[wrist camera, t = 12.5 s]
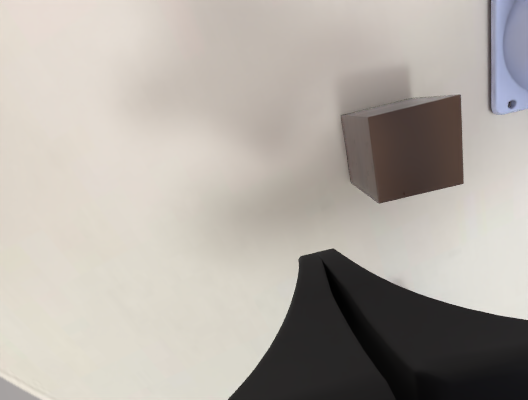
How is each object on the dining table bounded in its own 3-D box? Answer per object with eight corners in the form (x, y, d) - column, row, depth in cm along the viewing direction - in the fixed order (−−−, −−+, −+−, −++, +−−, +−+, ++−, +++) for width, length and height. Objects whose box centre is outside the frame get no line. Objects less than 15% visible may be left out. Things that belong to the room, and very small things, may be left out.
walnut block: (411, 97, 18) (461, 94, 14) (417, 167, 20) (464, 183, 15) (340, 115, 18) (367, 117, 14) (351, 183, 20) (378, 204, 15)
